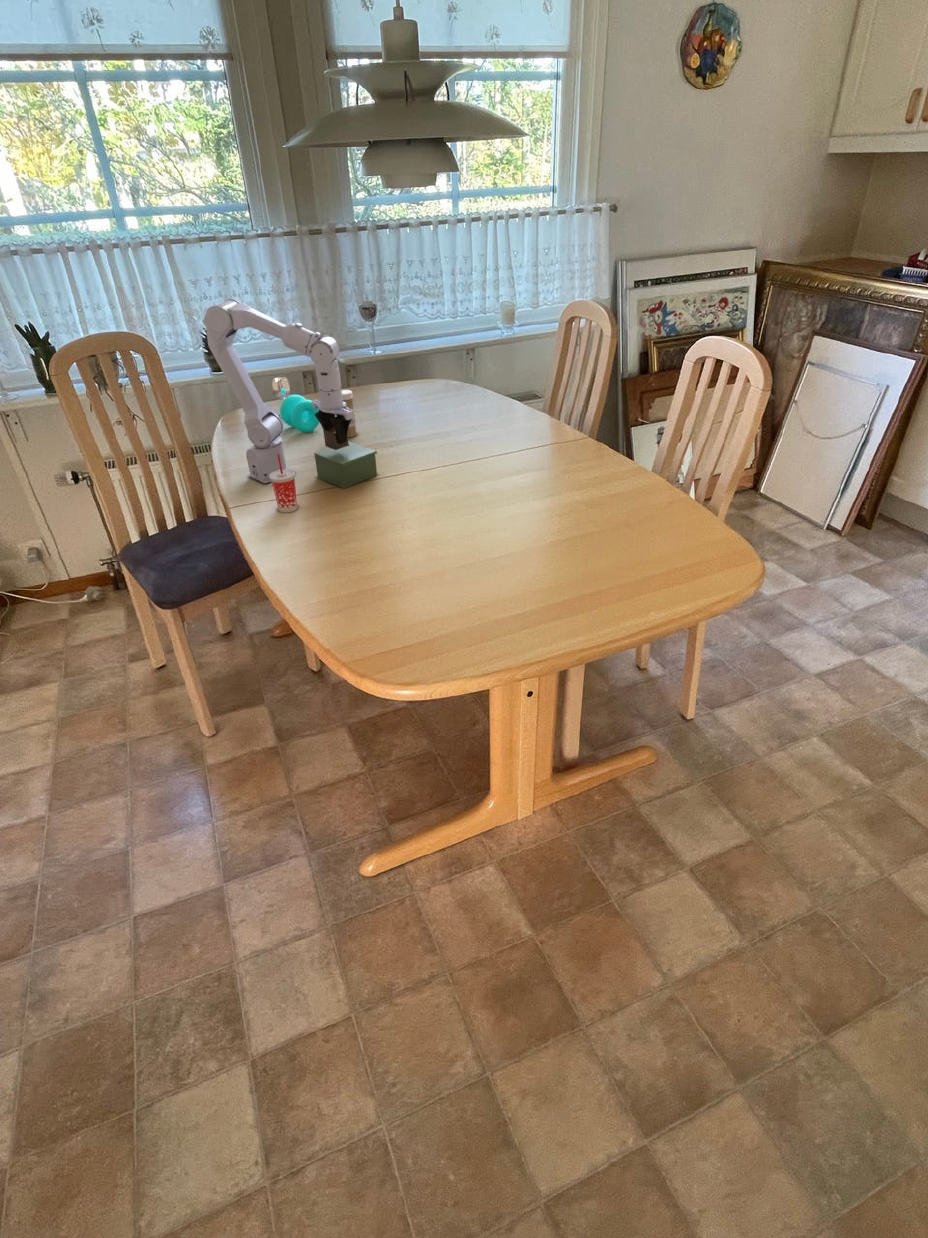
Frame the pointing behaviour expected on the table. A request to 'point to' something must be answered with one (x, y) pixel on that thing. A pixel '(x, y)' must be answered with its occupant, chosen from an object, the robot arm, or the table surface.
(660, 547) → the table surface
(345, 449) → the lid
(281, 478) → the beverage cup
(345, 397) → the sprinkles bottle
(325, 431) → the block
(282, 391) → the wineglass
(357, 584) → the table surface
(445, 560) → the table surface
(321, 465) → the chest
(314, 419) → the donuts
